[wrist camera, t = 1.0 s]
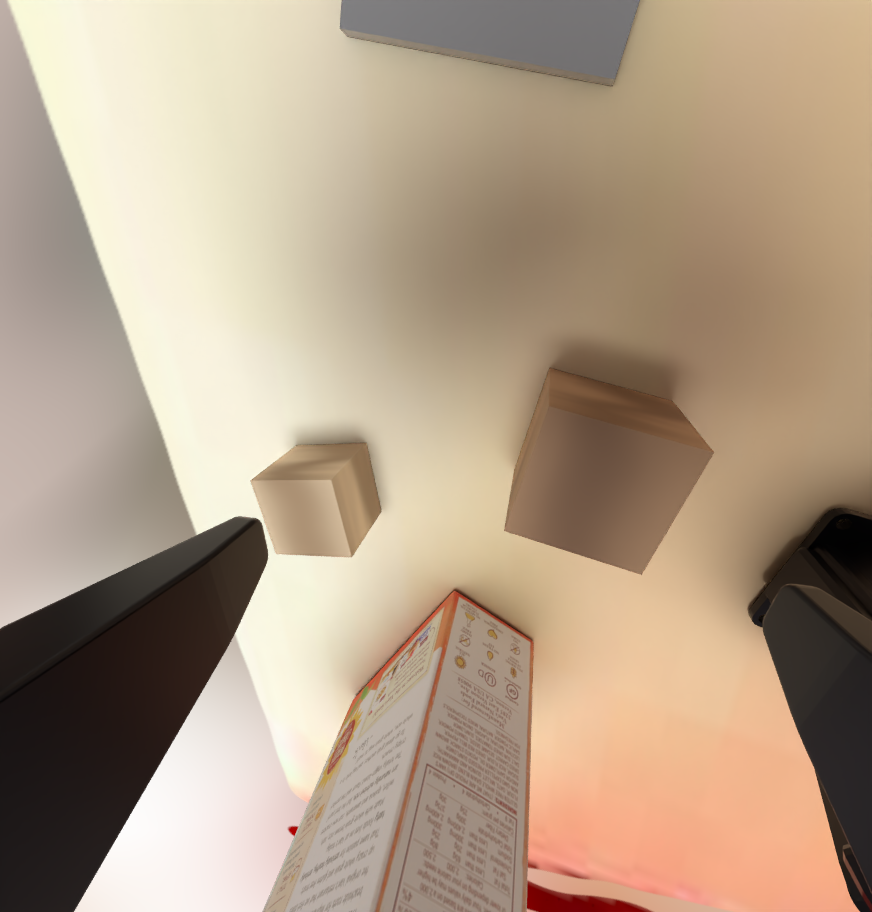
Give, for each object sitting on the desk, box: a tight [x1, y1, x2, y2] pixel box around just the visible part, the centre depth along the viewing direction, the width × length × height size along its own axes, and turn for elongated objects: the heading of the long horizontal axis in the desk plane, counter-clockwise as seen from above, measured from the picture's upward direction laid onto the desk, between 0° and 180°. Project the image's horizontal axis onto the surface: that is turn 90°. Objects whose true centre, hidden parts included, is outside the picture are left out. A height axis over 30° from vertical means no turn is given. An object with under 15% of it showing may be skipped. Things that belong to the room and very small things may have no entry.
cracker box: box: [263, 591, 533, 912], centre depth 18 cm, size 14×6×21 cm, turn 149°
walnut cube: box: [504, 368, 714, 575], centre depth 16 cm, size 5×5×5 cm
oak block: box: [250, 443, 381, 557], centre depth 21 cm, size 4×4×4 cm
